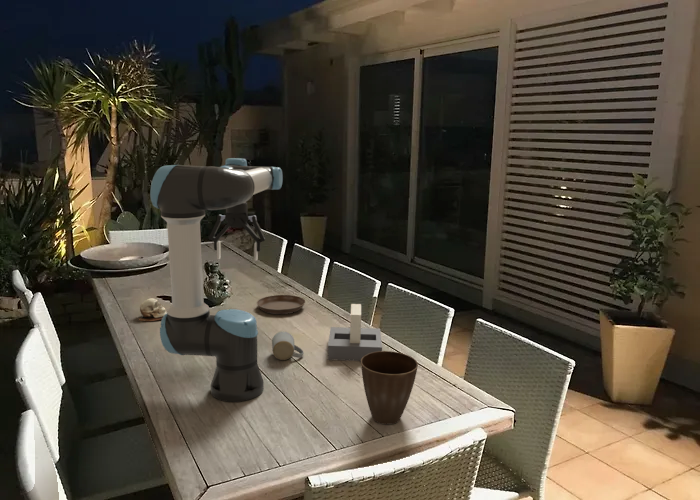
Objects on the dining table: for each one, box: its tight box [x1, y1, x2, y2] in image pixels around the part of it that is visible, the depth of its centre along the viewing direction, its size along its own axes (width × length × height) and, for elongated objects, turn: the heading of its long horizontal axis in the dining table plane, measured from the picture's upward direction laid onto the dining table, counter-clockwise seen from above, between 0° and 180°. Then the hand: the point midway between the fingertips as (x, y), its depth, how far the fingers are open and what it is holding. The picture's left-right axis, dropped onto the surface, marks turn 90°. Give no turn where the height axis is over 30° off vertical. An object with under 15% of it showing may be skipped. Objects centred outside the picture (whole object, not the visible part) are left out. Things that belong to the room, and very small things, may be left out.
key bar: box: [349, 303, 362, 343], centre depth 191 cm, size 12×4×10 cm, turn 179°
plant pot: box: [360, 350, 419, 425], centre depth 146 cm, size 15×15×16 cm
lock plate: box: [327, 326, 383, 362], centre depth 192 cm, size 18×18×5 cm
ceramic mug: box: [271, 330, 305, 361], centre depth 185 cm, size 11×8×8 cm
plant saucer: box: [256, 294, 306, 315], centre depth 236 cm, size 21×21×3 cm
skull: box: [138, 297, 167, 322], centre depth 220 cm, size 12×10×10 cm
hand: (237, 259), depth 202 cm, fingers open, 13 cm apart
